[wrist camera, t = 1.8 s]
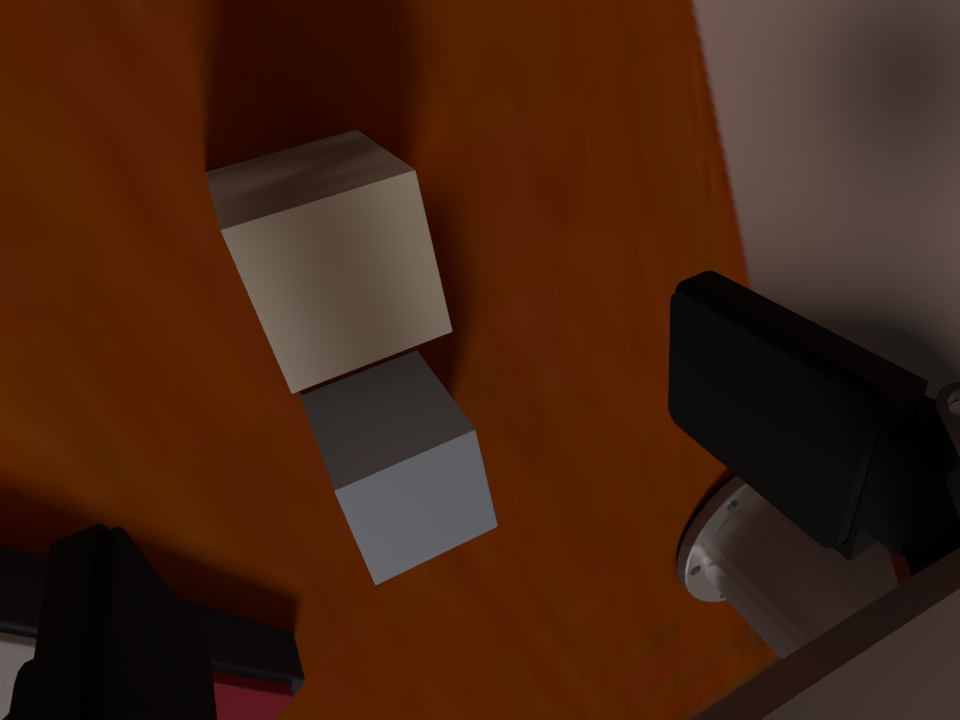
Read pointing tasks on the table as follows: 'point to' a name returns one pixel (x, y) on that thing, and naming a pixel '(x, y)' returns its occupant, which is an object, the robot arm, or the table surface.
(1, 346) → the table surface
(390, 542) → the gray block
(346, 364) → the maple block
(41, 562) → the red and white box
